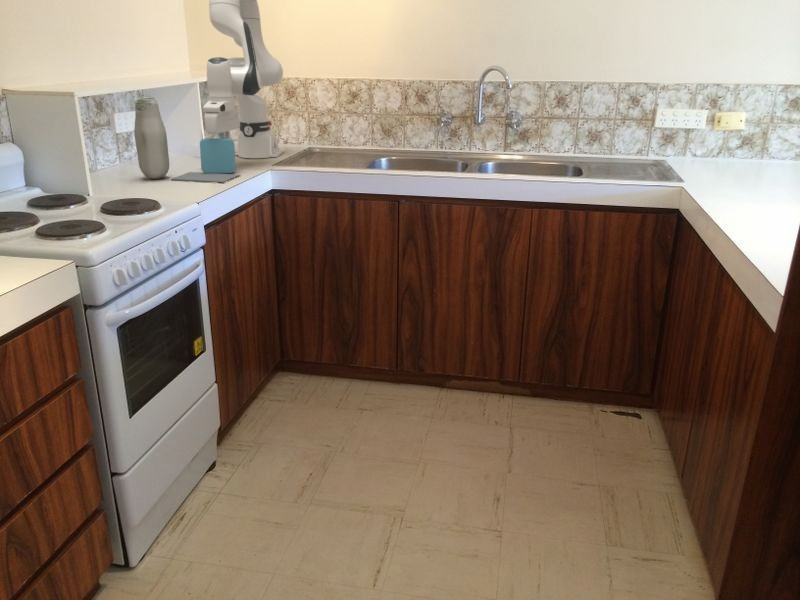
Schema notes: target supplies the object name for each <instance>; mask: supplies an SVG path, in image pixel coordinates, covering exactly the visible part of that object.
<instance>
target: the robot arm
mask: <svg viewBox="0 0 800 600" xmlns="http://www.w3.org/2000/svg"><path fill="white" fill-rule="evenodd" d="M208 3H209V5H208V11H209V20H210V23H211V25H212V26H213V28H214V29H216V30H217V31H218V32H219V33H220V34H223V35H225V36H227V37H230V38H232V39H233V40H234V42H235V44H236V45H237V46H239V47H240V48H241V49H242V53H243V57H229V58H226V57H221V56H219V57H212V58H209V59H208V60H207V62H206V84H207V88H208V101H207V102H206V103H205V104H204V105H203V106H202V112H203V113H204V126H205V130H206V133H207V135H218V136H219V139H230V136H231V131H234V130H238V129H239V131H240V133H239V134H238V135H237V152H235V156H237V155H238V156H237V157H239V158H243V159H266V158H267V159H268V158H277V157H279V156H281V155H282V154H283V153H284V152H285V151H284V149H282V148H279V142H278V138H277V137H276V136H275V134H273V132H272V131H271V127H272V125H273V122H272V121H271V120H269V121H268V108H267V102H266V100H265V99H264V98H262V97H261V96H259V95H258V92H259V91H260V90H261V88H262V87H269V86H275V85H279V83H280V82H281V80H282V79H283V76H284V71H283V70H284V69H283V65H282V64H281V62H280V61H279V60H278V59H277V58H276V57H274V56H273V55H272V54H271V53H270V52H269V50H268V49H267V47H266V45H265V41H264V40H263V34H262V24H261V23H262V22H261V14H260V7H259V2H258V0H209V1H208ZM235 99H236V101H237V105H238V109H237V106H236V105H235Z"/></svg>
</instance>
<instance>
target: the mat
mask: <svg viewBox="0 0 800 600" xmlns="http://www.w3.org/2000/svg"><path fill="white" fill-rule="evenodd" d="M239 176H240V177H241V174H235V173H234V174H233V173H204V172H195V171H189V172H187V173H186V172H185V173H183V174H180V175H176V176H175V177H171V178H170V181H171V180H172V182H174V181H175V182H189V181H194V182H193V183H207V182H222V183H221V184H225V183H224V182H226V181H228V182H230V181H229V180H231V181H233V180H235V179H234V178H236V179H237V177H238V178H240V177H239ZM232 179H233V180H232ZM226 183H227V182H226Z"/></svg>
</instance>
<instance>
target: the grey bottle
mask: <svg viewBox="0 0 800 600" xmlns="http://www.w3.org/2000/svg"><path fill="white" fill-rule="evenodd" d="M134 110H135V115H134V118H135V119H134V129H133V131H134V142H135V147H136V148H135V149H136V154H137V160H138V166H139V169H140V172H141V173H142V174H143V176H145V177H146V178H148V179H151V180H152V179H153V180H157V179H162V178H164V177H166V176H167V174H168V173H169V169H170V155H169V147H168V146H169V144H168V137H167V136H168V134H167V131H166V126H165V125H164V122H163V119H162V115H161V111H160V108H159V103H158V101H157V100H156V99H155V98H154V97H153V96H151V95H142V96H141V95H140V96H139V97H137V98H136V100H135V102H134Z"/></svg>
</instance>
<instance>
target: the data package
mask: <svg viewBox="0 0 800 600" xmlns="http://www.w3.org/2000/svg"><path fill="white" fill-rule="evenodd" d="M199 149H200V151H199V152H200V163H201V164H200V166H201V168H200V169H201V172H202V173H217V174H233V173H235V171H236V168H237V167H236V166H237V165H236V155H235V153H236V152H235V142H234V140H233V139H232V138H229V139H220V138H209V137H208V138H201V139H200V141H199Z"/></svg>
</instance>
